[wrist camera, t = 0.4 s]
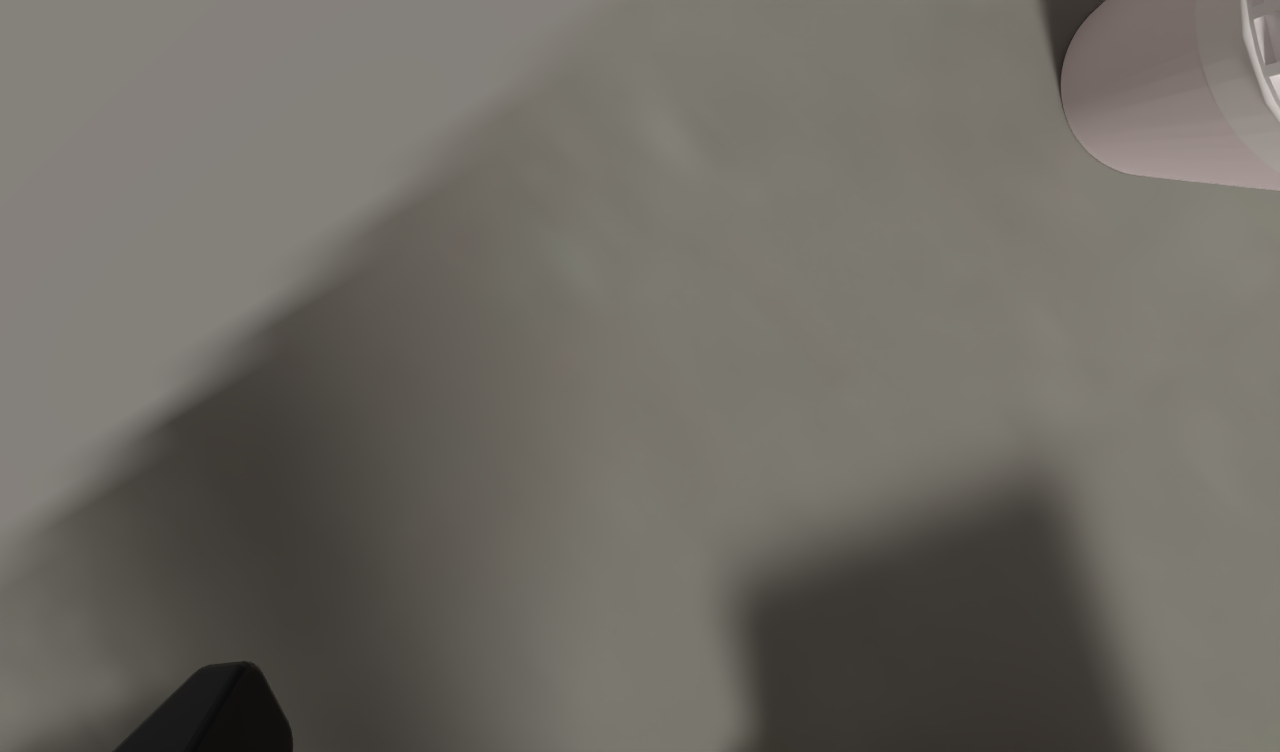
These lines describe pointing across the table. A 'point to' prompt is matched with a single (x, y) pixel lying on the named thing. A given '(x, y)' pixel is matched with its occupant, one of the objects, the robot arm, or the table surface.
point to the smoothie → (1179, 89)
